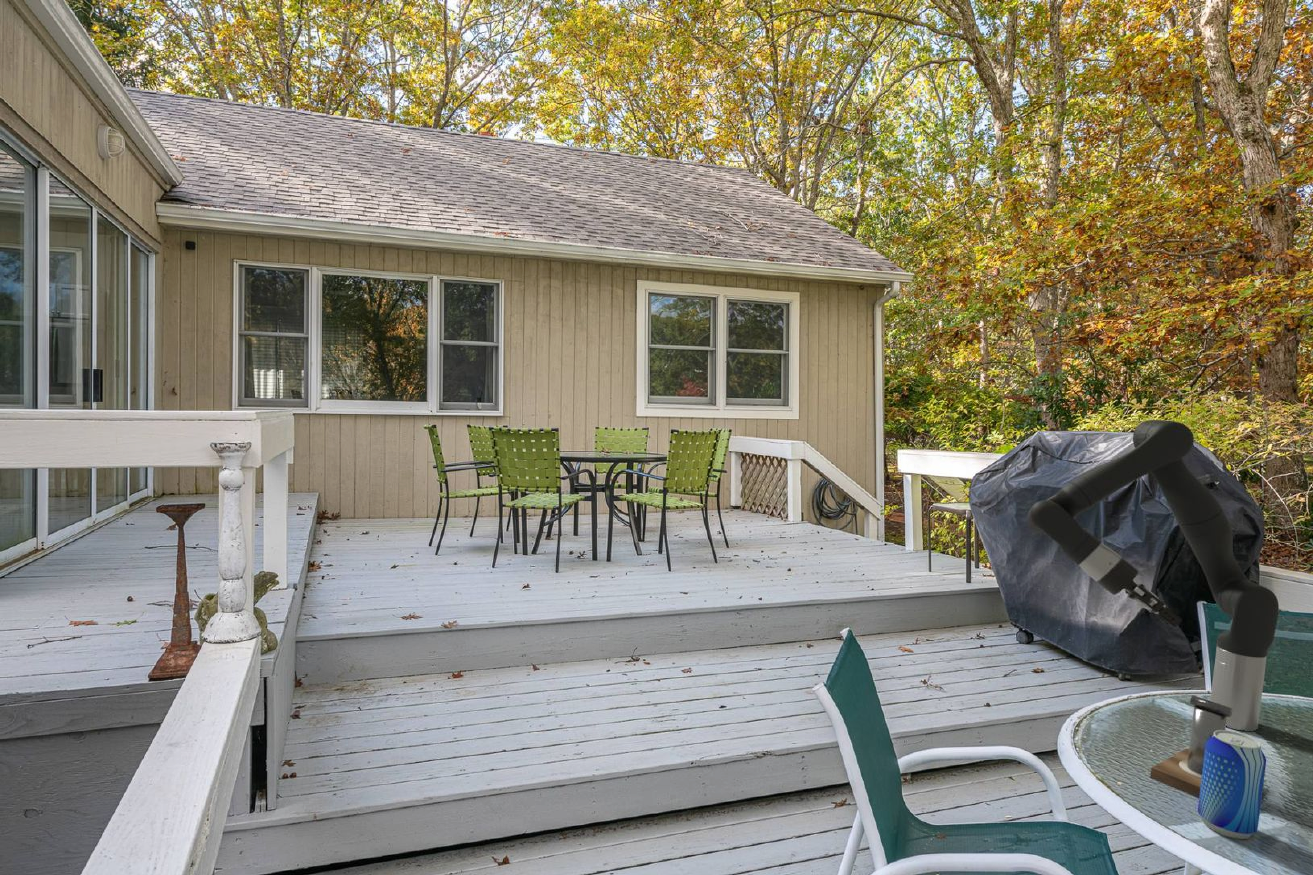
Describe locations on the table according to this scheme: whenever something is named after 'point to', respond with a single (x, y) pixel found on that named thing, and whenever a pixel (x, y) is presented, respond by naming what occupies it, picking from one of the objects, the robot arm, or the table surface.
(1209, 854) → the table surface
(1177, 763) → the block
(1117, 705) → the table surface
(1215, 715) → the grey cylinder
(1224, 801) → the beer can
